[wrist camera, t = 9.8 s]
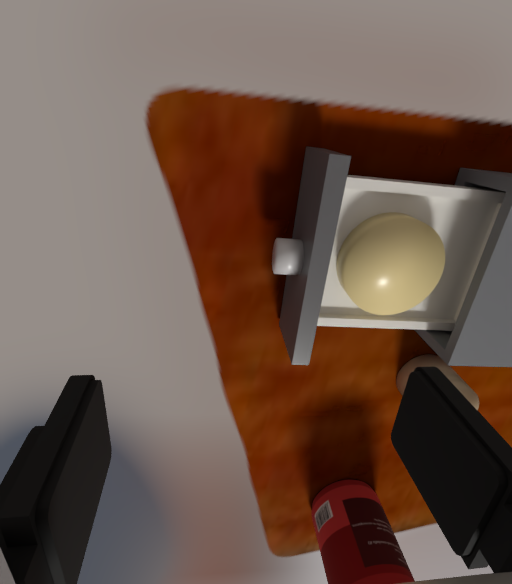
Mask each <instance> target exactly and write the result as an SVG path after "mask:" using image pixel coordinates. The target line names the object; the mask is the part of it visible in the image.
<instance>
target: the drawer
mask: <svg viewBox="0 0 512 584" xmlns="http://www.w3.org/2000/svg"><path fill="white" fill-rule="evenodd" d="M350 160H351V156H349V155H345V154H342V153H338V152H335V151H331V150H328V149H324V148H315V147H306V151H305V157H304V164H303V171H302V177H301V184H300V190H299V197H298V203H297V210H296V216H295V223H294V230H293V236H292V239H287V238H276V239H275V242H274V246H273V254H272V269H273V273H274V274H284V275H287V276H286V282H285V289H284V295H283V302H282V308H281V315H280V321H279V326H280V329H281V332H282V335H283V338H284V341H285V345H286V348H287V351H288V354H289V357H290V360H291V363H292V365H309V362H310V357H311V352H312V347H313V342H314V337H315V332H316V327H317V326H338V327H364V328H390V329H417V330H443V331H453V328H454V326H455V323H456V320H457V318H458V315H459V313H460V310H461V308H462V305H463V302H464V300H465V297H466V295H467V292H468V289H469V287H470V284H471V282H472V279H473V277H474V274H475V271H476V269H477V266H478V264H479V261H480V258H481V256H482V253H483V251H484V248H485V246H486V243H487V240H488V238H489V235H490V233H491V230H492V227H493V225H494V222H495V220H496V217H497V215H498V212H499V209H500V207H501V204H502V202H503V199H504V196H505V194H506V192H505V191H501V190H496V189H486V188H476V187H466V186H456V185H446V184H436V183H426V182H416V181H406V180H396V179H386V178H376V177H366V176H356V175H348V170H349V165H350ZM388 212H397V213H403V214H407V215H409V216H411V217H413V218H415V219H417V220H420V221H422V222H424V223H426V224H428V225H429V226H430V227H432V228H433V229H434V230H435V231H436V232H437V233H438V235H439V236H440V238H441V240H442V242H443V245H444V249H445V265H444V269H443V273H442V275H441V278H440V280H439V282H438V284H437V285H436V287H435V288H434V290H433V291H432V292H431V293H430V294H429V295H428V296H427V297H426V298H425V299H424V300H423V301H422V302H420V303H419V304H418V305H416V306H414V307H413V308H411V309H409V310H407V311H404V312H401V313H398V314H393V315H376V314H372V313H369V312H366V311H364V310H362V309H361V308H359V307H358V306H357V305H356V304H355V303H354V302H353V301H352V300H351V298H350V297H349V296H348V294H347V293H346V292H345V291H344V289H343V288H342V286H341V284H340V282H339V279H338V276H337V270H336V264H337V257H338V253H339V250H340V248H341V246H342V244H343V242H344V240H345V239H346V237H347V236H348V235H349V233H350V232H351V231H352V230H353V229H354V228H355V227H356V226H358V225H359V224H360V223H362V222H363V221H365V220H367V219H368V218H370V217H373V216H375V215H378V214H382V213H388Z"/></svg>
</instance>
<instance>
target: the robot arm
mask: <svg viewBox="0 0 512 584" xmlns="http://www.w3.org/2000/svg"><path fill="white" fill-rule="evenodd" d="M391 440H392V443H393V446H394V448H395V449H396V451H397V453H398V455H399V456H400V458H401V460H402V462H403V463H404V465H405V467H406V469H407V470H408V472H409V474H410V476H411V477H412V479H413V481H414V483H415V484H416V486H417V488H418V490H419V492H420V493H421V495H422V497H423V499H424V500H425V502H426V504H427V506H428V507H429V509H430V511H431V513H432V514H433V516H434V518H435V520H436V521H437V523H438V525H439V527H440V528H441V530H442V532H443V534H444V535H445V537H446V539H447V541H448V542H449V544H450V546H451V548H452V549H453V551H454V552H455V553H456V554H457V555H459V556H461V557H462V559H463V561H464V562H465V564H466V566H467V568H468V569H474V568H483V567H487V566H488V564H489V566H490V567H491V569H492V570H493V572H494V573H492V574H481V575H471V576H462V577H453V578H444V579H434V580H426V581H416V582H407V583H397V584H512V448H511V447H510V445H509V444H508V443H507V442H506V441H505V440H504V439H503V438H502V437H501V436H500V435H499V433H498V432H497V431H496V430H495V429H494V428H493V427H492V426H491V425H490V424H489V423H488V422H487V420H486V419H485V418H484V417H483V416H482V415H481V414H480V413H479V412H478V411H477V410H476V409H475V407H474V406H473V405H472V404H471V403H470V402H469V401H468V400H467V399H466V398H465V397H464V395H463V394H462V393H461V392H460V391H459V390H458V389H457V388H456V387H455V386H454V385H453V384H452V382H451V381H450V380H449V379H448V378H447V377H446V376H445V375H444V374H443V373H442V372H441V371H440V369H438V368H437V367H434V366H432V367H416V368H415V369H414V372H411V373H410V375H409V377H408V381H407V384H406V387H405V390H404V394H403V397H402V400H401V403H400V407H399V410H398V413H397V416H396V420H395V423H394V426H393V430H392V433H391ZM110 460H111V442H110V435H109V428H108V422H107V415H106V408H105V401H104V394H103V388H102V382H101V380H95V377H94V376H93V375H80V376H79V375H77V376H76V375H75V376H71V377H70V378H69V379H68V381H67V383H66V385H65V387H64V389H63V391H62V393H61V395H60V397H59V399H58V401H57V403H56V405H55V406H54V408H53V410H52V412H51V414H50V416H49V418H48V420H47V422H46V424H45V426H35V427H34V428H33V429H32V430H31V431H30V433H29V434H28V436H27V438H26V440H25V441H24V443H23V445H22V447H21V448H20V450H19V452H18V454H17V456H16V457H15V459H14V461H13V463H12V465H11V466H10V468H9V470H8V472H7V474H6V475H5V477H4V479H3V481H2V483H1V484H0V584H77V581H78V577H79V573H80V570H81V566H82V562H83V559H84V555H85V551H86V547H87V544H88V540H89V537H90V533H91V530H92V526H93V522H94V518H95V515H96V511H97V507H98V504H99V500H100V497H101V493H102V489H103V485H104V482H105V479H106V475H107V471H108V468H109V464H110Z"/></svg>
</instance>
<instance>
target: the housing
mask: <svg viewBox="0 0 512 584" xmlns="http://www.w3.org/2000/svg"><path fill="white" fill-rule="evenodd" d="M455 185H456V186H466V187H476V188H486V189H496V190H501V191H505V192H506V194H505V196H504V199H503V202H502V204H501V207H500V209H499V212H498V215H497V217H496V220H495V222H494V225H493V227H492V230H491V233H490V235H489V238H488V240H487V243H486V246H485V248H484V251H483V253H482V256H481V258H480V261H479V264H478V266H477V269H476V271H475V274H474V277H473V279H472V282H471V284H470V287H469V289H468V292H467V295H466V297H465V300H464V302H463V305H462V308H461V310H460V313H459V315H458V318H457V320H456V323H455V326H454V328H453V331H443V330H417V329H414V330H415V331H416V332H417V333H418V334H419V336H420V337H421V338H422V339H423V340H424V341H425V342H426V343H427V344H428V345H429V346H430V347H431V348H432V349H433V350H434V351H435V352H436V354H437V355H438V356H439V357H440V358H441V359H442V360H443V361H444V362H445V363H446V364H447V365H448V366H491V367H512V173H505V172H496V171H486V170H477V169H468V168H460V170H459V173H458V176H457V179H456V182H455Z"/></svg>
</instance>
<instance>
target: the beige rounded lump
mask: <svg viewBox="0 0 512 584" xmlns="http://www.w3.org/2000/svg"><path fill="white" fill-rule="evenodd" d="M432 366H434V367H437V368H438V369H440V371H441V372H442V373H443V374H444V375H445V376H446V377H447V378H448V379H449V380H450V381H451V382H452V384H453V385H454V386H455V387H456V388H457V389H458V390H459V391H460V392H461V393H462V394H463V395H464V397H465V398H466V399H467V400H468V401H469V402H470V403H471V404H472V405H473V406H474V407H475V409H476V410H478V407H479V399H478V396H477V394H476V393H475V392H474V391H473V390H472V389H471V388H470V387H469V386H468V385H467V384H466V383H465V382H464V380H463V379H462V378H461V377H460V376H459V375H458V374H457V373H456V372H455V371H454V370H453V369H452V368H451V367H450V366H448V365H447V364H446V363H445V362H444V361H443V360H442V359H441V358H440V357H439V356H437V355H431V354H427V355H421V356H418V357H415V358H413V359H412V360H410V361H408V362H407V363H406V364H405V365H404V366H403V367H402V368H401V369H400V371H399V373H398V375H397V378H396V385H397V388H398V390H399V391H400V393H401V394H402V396H403V394H404V390H405V387H406V384H407V381H408V377H409V375H410V373H411V372H414V369H415V368H416V367H432Z"/></svg>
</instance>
